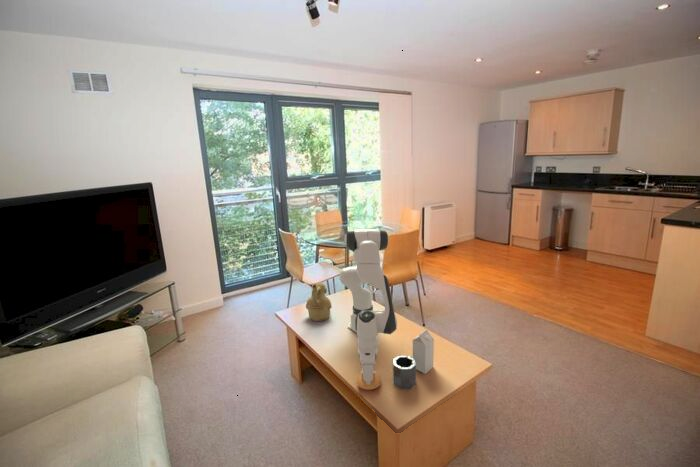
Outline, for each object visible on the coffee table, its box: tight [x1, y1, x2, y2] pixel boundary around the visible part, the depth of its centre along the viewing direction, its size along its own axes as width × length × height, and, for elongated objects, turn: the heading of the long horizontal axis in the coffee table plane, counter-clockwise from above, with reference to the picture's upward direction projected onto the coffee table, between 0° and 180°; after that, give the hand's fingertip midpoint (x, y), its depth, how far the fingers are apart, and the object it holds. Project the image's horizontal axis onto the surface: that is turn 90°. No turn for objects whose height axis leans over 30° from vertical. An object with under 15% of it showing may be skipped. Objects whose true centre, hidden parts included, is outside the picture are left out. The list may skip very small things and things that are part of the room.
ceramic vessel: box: [305, 282, 332, 322], centre depth 203 cm, size 17×20×25 cm
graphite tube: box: [392, 355, 417, 390], centre depth 141 cm, size 10×10×10 cm
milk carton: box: [412, 328, 435, 375], centre depth 149 cm, size 7×7×19 cm
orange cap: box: [355, 369, 382, 391], centre depth 141 cm, size 11×11×7 cm
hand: (368, 376), depth 141 cm, fingers open, 8 cm apart
